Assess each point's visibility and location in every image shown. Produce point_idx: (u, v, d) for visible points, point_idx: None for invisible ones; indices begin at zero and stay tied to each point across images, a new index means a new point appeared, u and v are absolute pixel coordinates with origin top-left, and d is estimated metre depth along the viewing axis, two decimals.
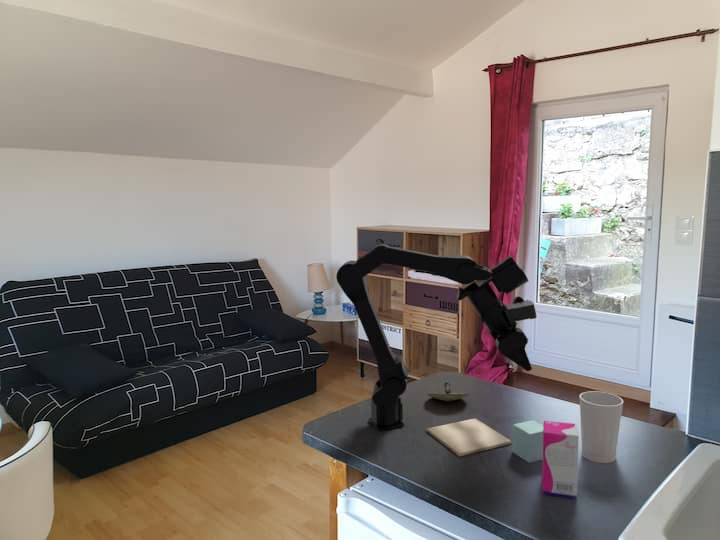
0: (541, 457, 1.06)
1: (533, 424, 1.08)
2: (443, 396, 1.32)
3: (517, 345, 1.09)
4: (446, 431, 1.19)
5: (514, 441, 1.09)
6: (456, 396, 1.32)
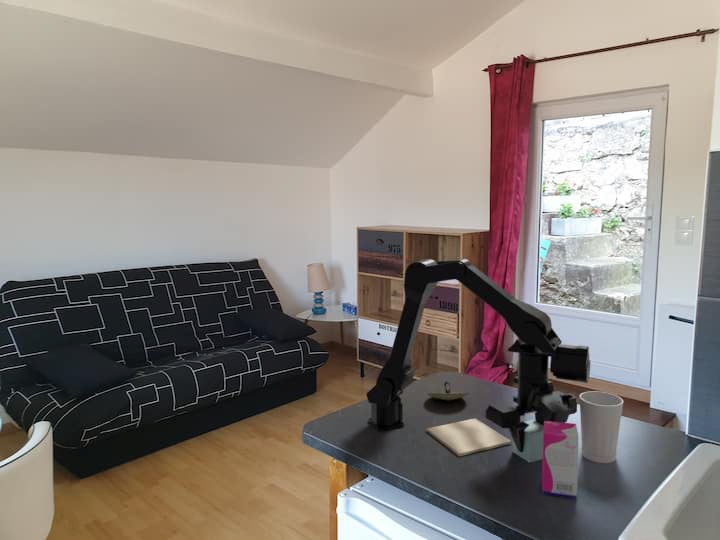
0: (541, 457, 1.06)
1: (533, 424, 1.08)
2: (443, 395, 1.33)
3: (495, 422, 1.03)
4: (446, 431, 1.19)
5: None
6: (456, 395, 1.33)
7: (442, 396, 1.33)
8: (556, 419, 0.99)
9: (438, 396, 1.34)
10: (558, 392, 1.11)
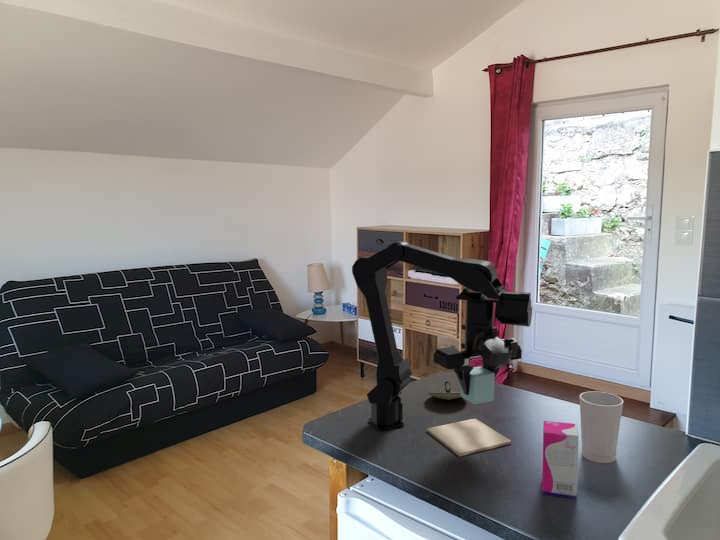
0: (486, 399, 1.12)
1: (480, 369, 1.14)
2: (443, 395, 1.33)
3: (441, 364, 1.09)
4: (446, 431, 1.19)
5: None
6: (456, 395, 1.33)
7: (442, 395, 1.33)
8: (497, 360, 1.05)
9: (438, 395, 1.34)
10: None
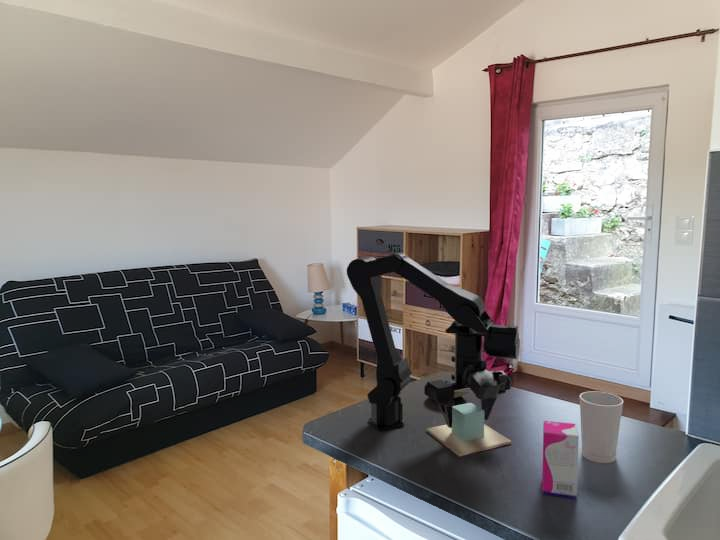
0: (476, 436, 1.14)
1: (470, 406, 1.17)
2: None
3: (432, 397, 1.11)
4: (446, 431, 1.19)
5: (452, 422, 1.17)
6: (456, 394, 1.34)
7: None
8: (486, 394, 1.07)
9: None
10: (495, 371, 1.19)
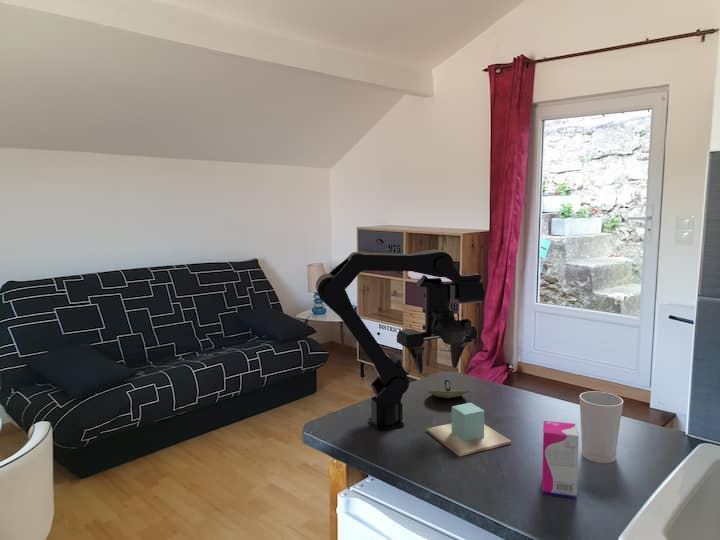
0: (476, 436, 1.14)
1: (470, 406, 1.17)
2: (443, 393, 1.34)
3: (403, 344, 1.19)
4: (446, 431, 1.19)
5: (452, 422, 1.17)
6: (456, 393, 1.34)
7: (442, 394, 1.34)
8: (452, 339, 1.16)
9: (438, 394, 1.35)
10: None
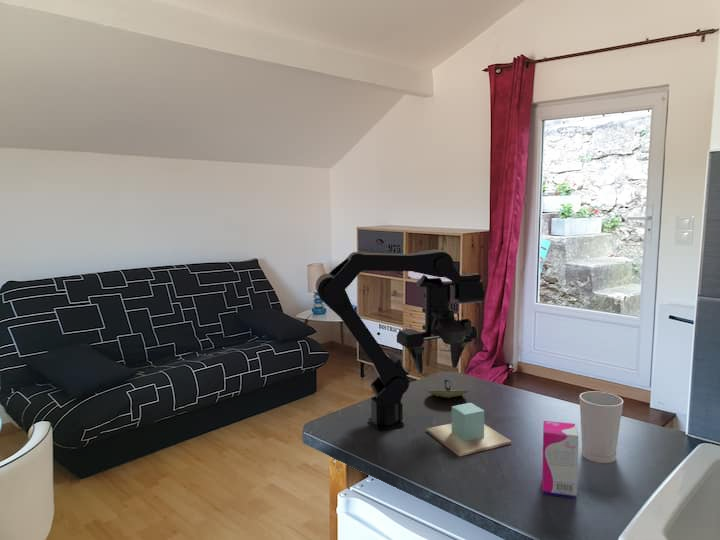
0: (476, 436, 1.14)
1: (470, 406, 1.17)
2: (443, 393, 1.34)
3: (403, 344, 1.19)
4: (446, 431, 1.19)
5: (452, 422, 1.17)
6: (457, 393, 1.34)
7: (443, 394, 1.35)
8: (452, 339, 1.16)
9: (439, 394, 1.35)
10: None
